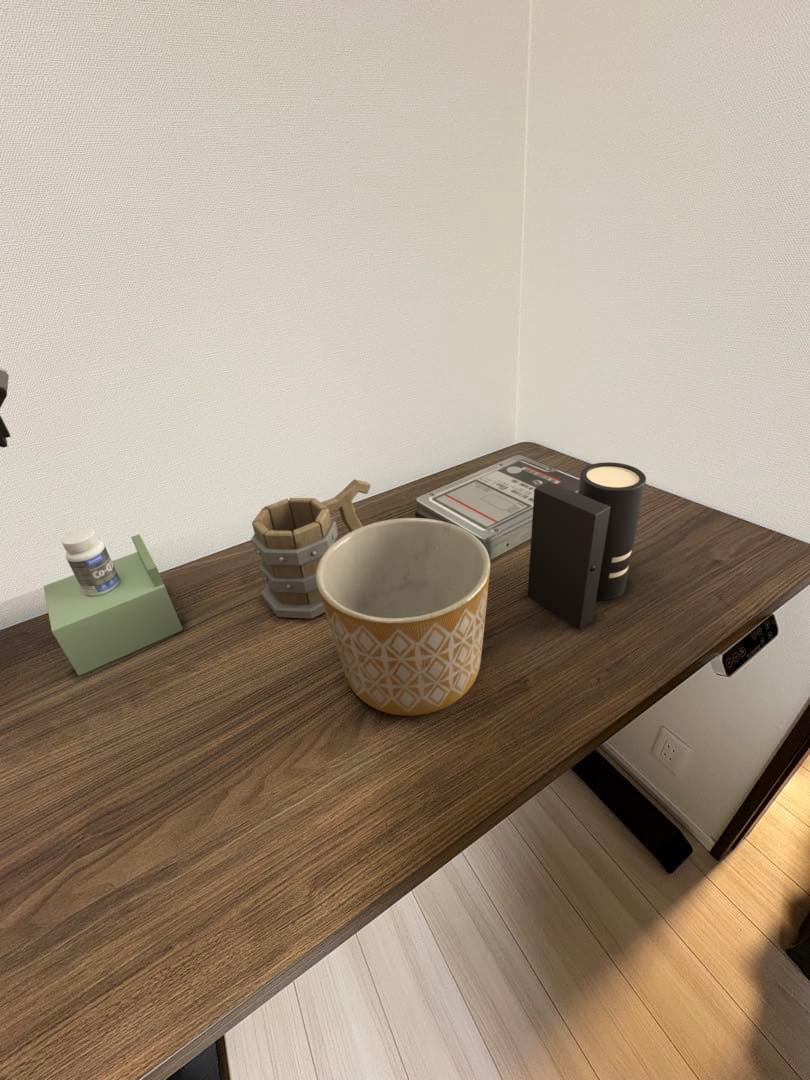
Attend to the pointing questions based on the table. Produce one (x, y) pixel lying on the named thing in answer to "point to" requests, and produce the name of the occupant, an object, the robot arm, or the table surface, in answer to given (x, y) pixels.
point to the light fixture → (584, 540)
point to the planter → (407, 611)
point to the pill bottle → (90, 562)
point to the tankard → (299, 548)
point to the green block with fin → (112, 613)
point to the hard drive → (494, 501)
